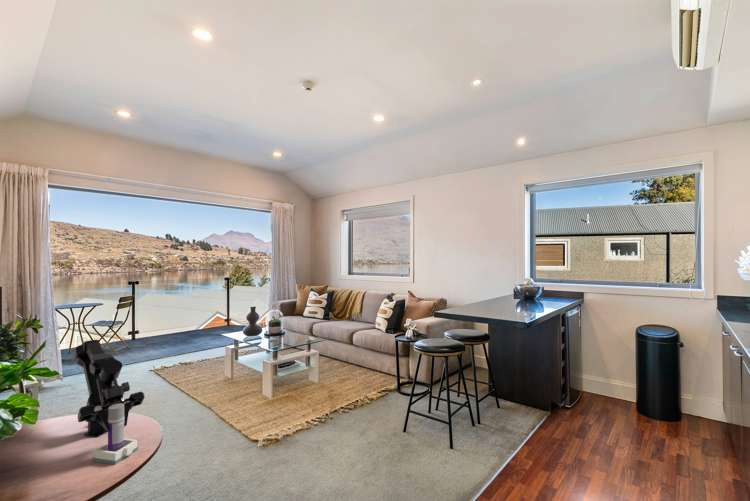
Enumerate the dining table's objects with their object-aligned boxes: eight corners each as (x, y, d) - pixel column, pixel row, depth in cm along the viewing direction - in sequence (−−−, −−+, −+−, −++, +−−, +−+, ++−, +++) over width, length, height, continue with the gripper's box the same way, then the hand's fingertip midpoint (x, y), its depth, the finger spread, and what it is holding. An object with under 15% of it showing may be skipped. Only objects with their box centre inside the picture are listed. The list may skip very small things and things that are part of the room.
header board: (93, 461, 121) (93, 450, 121) (117, 446, 130) (117, 437, 130) (117, 464, 119) (117, 454, 119) (140, 449, 128) (140, 440, 128)
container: (107, 448, 125) (107, 405, 125) (123, 443, 128) (123, 401, 128) (108, 454, 121) (108, 410, 121) (125, 449, 124) (125, 406, 124)
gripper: (79, 384, 120) (87, 427, 113) (142, 369, 134) (153, 407, 127) (74, 400, 125) (81, 443, 118) (136, 385, 139) (145, 422, 132)
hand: (117, 428), depth 124 cm, fingers closed on container, 5 cm apart
